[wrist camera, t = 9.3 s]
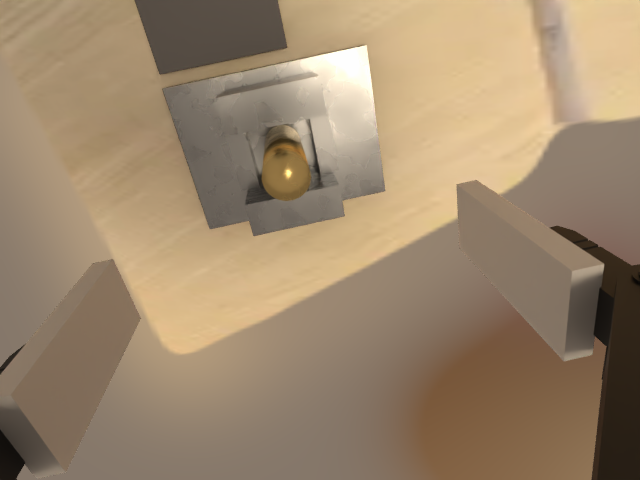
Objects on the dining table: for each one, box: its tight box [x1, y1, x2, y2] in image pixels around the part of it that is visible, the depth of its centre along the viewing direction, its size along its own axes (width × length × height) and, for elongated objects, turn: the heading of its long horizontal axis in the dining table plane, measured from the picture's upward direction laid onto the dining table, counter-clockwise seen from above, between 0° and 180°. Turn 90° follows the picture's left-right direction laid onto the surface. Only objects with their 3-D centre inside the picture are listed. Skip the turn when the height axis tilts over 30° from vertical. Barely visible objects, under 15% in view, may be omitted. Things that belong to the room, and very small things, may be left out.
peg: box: [262, 125, 311, 201], centre depth 30 cm, size 3×3×10 cm
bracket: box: [163, 45, 385, 236], centre depth 32 cm, size 12×16×7 cm
